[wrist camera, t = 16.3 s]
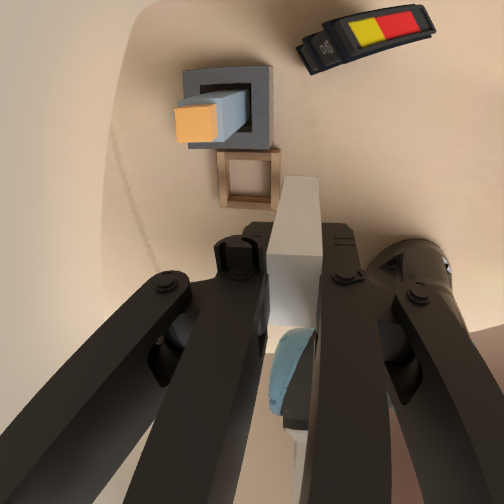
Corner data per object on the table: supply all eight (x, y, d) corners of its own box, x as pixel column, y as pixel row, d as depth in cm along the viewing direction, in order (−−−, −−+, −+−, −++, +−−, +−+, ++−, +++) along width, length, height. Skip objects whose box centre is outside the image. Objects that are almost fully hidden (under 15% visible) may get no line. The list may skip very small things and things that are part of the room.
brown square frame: (279, 204, 41) (278, 210, 40) (223, 201, 43) (220, 207, 41) (280, 149, 37) (279, 153, 35) (220, 148, 38) (216, 151, 36)
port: (273, 141, 37) (269, 149, 33) (199, 141, 38) (188, 149, 35) (272, 66, 31) (269, 65, 28) (194, 70, 32) (182, 70, 29)
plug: (250, 119, 35) (217, 147, 23) (219, 119, 36) (172, 148, 24) (249, 89, 33) (215, 100, 21) (218, 90, 34) (168, 103, 21)
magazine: (272, 59, 29) (332, 17, 15) (355, 30, 29) (433, 0, 15) (287, 85, 31) (356, 60, 17) (368, 54, 31) (449, 33, 17)
